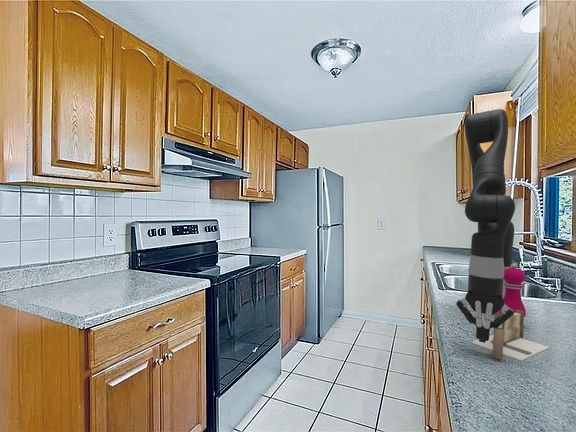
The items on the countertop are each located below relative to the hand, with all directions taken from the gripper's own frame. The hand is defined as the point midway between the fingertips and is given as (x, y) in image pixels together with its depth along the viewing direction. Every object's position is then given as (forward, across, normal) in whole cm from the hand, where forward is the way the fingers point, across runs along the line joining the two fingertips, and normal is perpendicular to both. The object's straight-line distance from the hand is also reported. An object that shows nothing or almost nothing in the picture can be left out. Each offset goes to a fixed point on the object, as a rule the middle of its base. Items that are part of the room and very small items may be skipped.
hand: (482, 341), depth 82 cm
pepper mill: (+4, -7, -31) cm, 32 cm away
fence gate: (+2, -4, -2) cm, 5 cm away
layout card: (+3, -6, -10) cm, 12 cm away
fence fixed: (+3, -6, -15) cm, 16 cm away
